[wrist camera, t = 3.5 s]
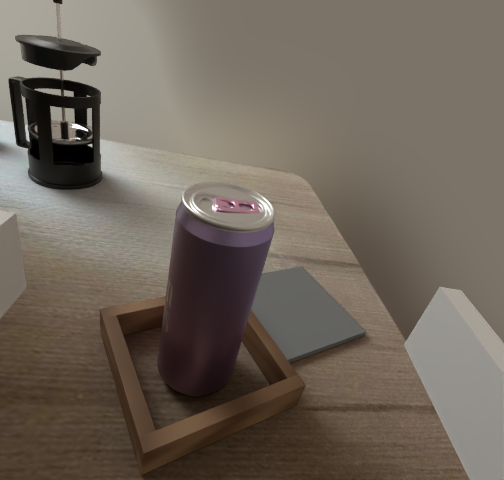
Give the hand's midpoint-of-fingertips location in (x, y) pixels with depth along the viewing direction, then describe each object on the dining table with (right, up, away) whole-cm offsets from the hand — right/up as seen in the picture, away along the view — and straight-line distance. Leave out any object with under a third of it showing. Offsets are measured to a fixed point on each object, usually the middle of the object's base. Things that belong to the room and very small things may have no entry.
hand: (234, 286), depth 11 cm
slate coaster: (+5, -6, +26) cm, 27 cm away
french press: (-27, +11, +40) cm, 49 cm away
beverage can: (-4, -9, +17) cm, 20 cm away
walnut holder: (-4, -9, +17) cm, 20 cm away
